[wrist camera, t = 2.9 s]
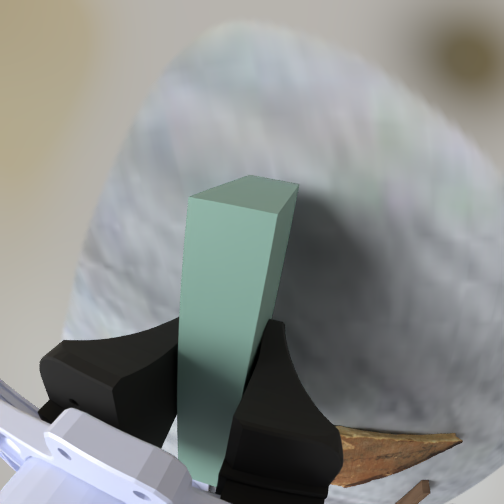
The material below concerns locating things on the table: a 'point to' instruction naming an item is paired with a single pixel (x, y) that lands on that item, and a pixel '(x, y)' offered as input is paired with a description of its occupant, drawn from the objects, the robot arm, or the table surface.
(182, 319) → the bar
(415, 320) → the table surface
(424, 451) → the shard
